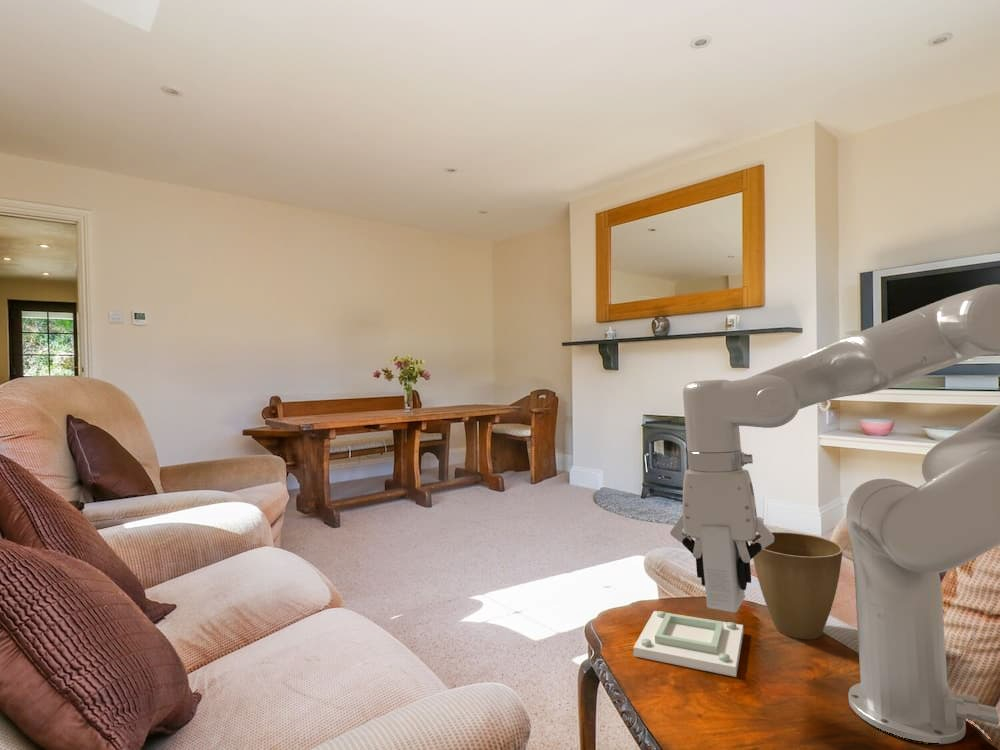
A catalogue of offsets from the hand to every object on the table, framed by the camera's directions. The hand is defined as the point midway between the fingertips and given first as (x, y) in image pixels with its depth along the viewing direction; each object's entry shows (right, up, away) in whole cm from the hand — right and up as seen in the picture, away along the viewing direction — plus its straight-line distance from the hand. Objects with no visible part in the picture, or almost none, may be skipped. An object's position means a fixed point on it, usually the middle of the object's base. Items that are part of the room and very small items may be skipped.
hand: (724, 583), depth 79 cm
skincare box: (0, -3, 0) cm, 3 cm away
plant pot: (+21, -16, +18) cm, 32 cm away
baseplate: (0, -16, +14) cm, 22 cm away
